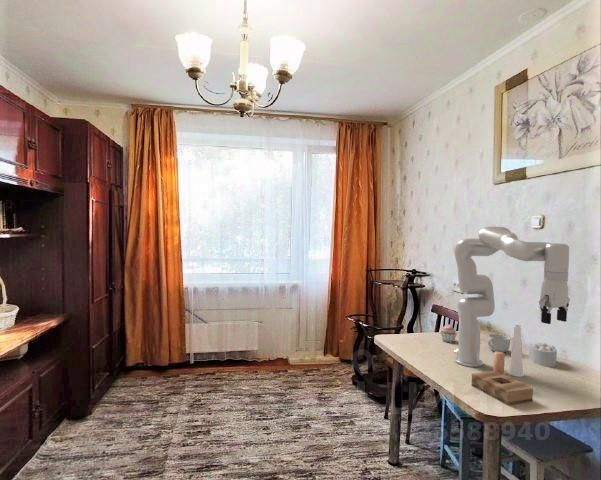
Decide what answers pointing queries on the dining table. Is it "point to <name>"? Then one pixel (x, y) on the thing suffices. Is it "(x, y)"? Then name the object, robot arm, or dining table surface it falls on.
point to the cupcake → (448, 333)
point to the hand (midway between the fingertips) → (553, 322)
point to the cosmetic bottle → (516, 354)
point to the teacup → (498, 342)
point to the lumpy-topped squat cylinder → (543, 354)
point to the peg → (499, 362)
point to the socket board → (502, 387)
